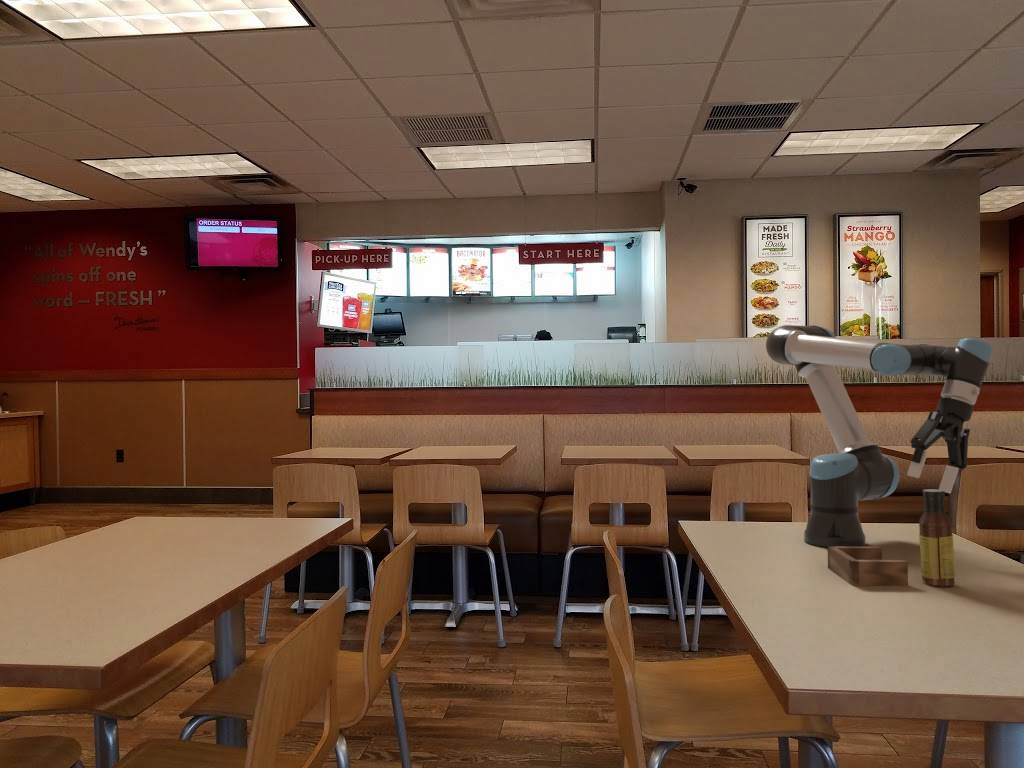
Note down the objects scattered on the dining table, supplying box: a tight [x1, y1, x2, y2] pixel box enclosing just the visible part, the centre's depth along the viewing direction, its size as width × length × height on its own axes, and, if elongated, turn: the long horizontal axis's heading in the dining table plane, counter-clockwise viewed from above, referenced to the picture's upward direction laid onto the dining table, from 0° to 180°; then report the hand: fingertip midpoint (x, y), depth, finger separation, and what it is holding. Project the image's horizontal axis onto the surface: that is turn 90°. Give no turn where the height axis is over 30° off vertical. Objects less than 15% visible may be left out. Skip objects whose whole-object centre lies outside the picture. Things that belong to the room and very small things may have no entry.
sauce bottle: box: [918, 488, 956, 588], centre depth 161 cm, size 7×6×20 cm
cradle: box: [827, 546, 909, 587], centre depth 168 cm, size 12×15×5 cm
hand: (928, 484), depth 182 cm, fingers open, 13 cm apart
